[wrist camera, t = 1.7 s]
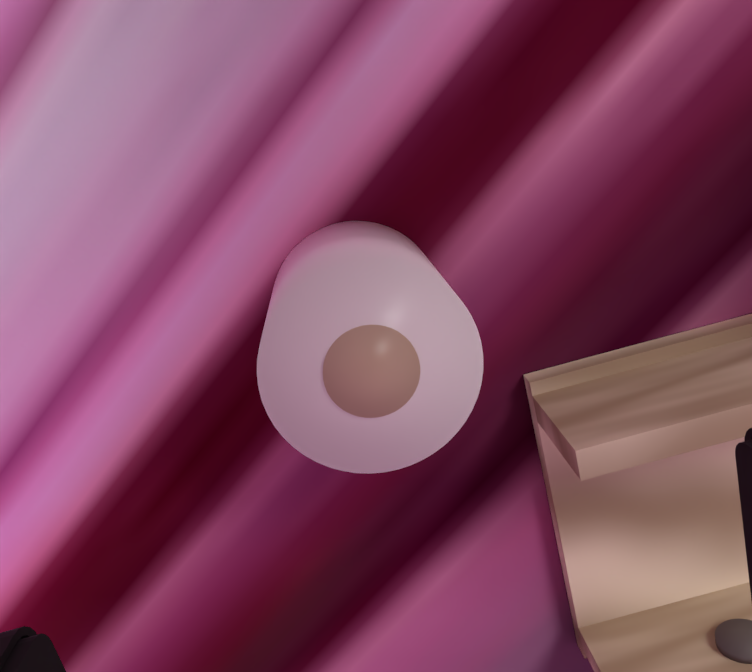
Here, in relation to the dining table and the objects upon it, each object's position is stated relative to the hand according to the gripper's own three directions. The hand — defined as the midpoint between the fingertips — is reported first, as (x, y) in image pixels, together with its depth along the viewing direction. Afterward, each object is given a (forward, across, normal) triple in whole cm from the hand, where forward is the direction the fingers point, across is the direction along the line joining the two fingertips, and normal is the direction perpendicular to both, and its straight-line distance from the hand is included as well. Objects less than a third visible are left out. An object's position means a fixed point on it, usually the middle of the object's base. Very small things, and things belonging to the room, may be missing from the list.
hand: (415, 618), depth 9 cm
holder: (+15, -10, +10) cm, 21 cm away
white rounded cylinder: (+15, 0, 0) cm, 15 cm away
